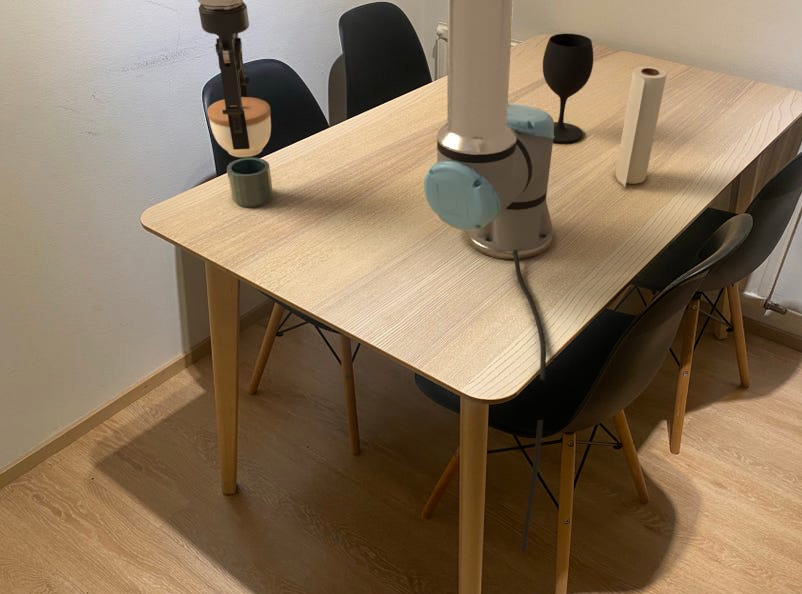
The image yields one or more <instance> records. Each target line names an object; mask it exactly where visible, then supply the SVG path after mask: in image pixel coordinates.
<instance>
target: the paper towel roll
mask: <svg viewBox="0 0 802 594" xmlns="http://www.w3.org/2000/svg"><path fill="white" fill-rule="evenodd" d="M666 79H667V72H666V71H665V70H664V69H662V68H659V67H654V66H638V67H636V68H634V69H633V70H632V76H631V81H630V86H629V87H630V88H629V93H628V99H627V105H626V111H625V116H624V123H623V129H622V133H621V140H620V145H619V151H618V156H617V163H616V169H615V178H616V179H617V181H618V182H619V183H620V184H621V185H623V186H624V188H626V186H627V184H632V185H633V184H634V185H635V184H641V183H643V182H645V180H646V178H647V174H648V168H649V163H650V159H651V154H652V148H653V144H654V140H655V133H656V130H657V129H656V128H657V124H658V119H659V115H660V109H661V105H662V100H663V95H664V90H665V84H666Z"/></svg>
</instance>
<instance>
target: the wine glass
mask: <svg viewBox="0 0 802 594" xmlns="http://www.w3.org/2000/svg"><path fill="white" fill-rule="evenodd" d="M593 67H594V46H593V42H592V39H591V38H589V37H588V36H585V35H582V34H577V33H557V34H554V35H551V36H550V37H549V39H548V42H547V43H546V47H545V49H544V53H543V58H542V73H543V79H544V81H545V83H546V84H547V86H548V87H549V89H550V90H551V91H552V92H553V93H554V94H555V95H557V97H559V102H560V103H559V114H558V121H554V139H553V143H555V144H570V143H574V142H577V141H579V140H581V139H582V138H583V137H584V132H583V130H582V129H581V128H580V127H579V126H577V125H574V124H572V123H568V122H564V121H565V120H564V118H565V109H566V105H567V100H568V99H569V98H570V97H572V96H573V95H575V94H577V93H578V92H580V91H581V90H582V89H583V88H584V86H585V85H586V84H587V83H588V82H589V79H590V78H591V74H592V71H593V69H594V68H593Z"/></svg>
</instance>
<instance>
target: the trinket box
mask: <svg viewBox="0 0 802 594" xmlns="http://www.w3.org/2000/svg"><path fill="white" fill-rule="evenodd" d="M241 99H242V108H243V111H244V113H245V120H246V126H247V133H248V139H249V146H250V149H237V150H234V149H233V143H232V138H231V132H230V126H229V120H228V115H227V114H223V111H222V110H225V109H226V107H225V100H224V99H220V100H217V101H215V102H214V103H212V104H210V105H209V106H208V108H207V110H206V113H207V118H208V119H209V124H210V125H209V126H210V129H211V131H212V135H213V137H214V139H215V141H216V142H217V144H218V145H219V146H220V147H221V148H222V149H223V150H225V151H226V152H227V153H228V154H229V155H230V156H232V157H236V158H252V157H255V156H257V155H259V154H261V153H262V152H263V149H264V148H265V146H267V144H268V142H269V140H270V137H271V134H272V119H271V117H272V116H271V105H270V104H269V103H268V102H267V101H265V100H263V99H261V98H257V97H251V96H248V97H241Z"/></svg>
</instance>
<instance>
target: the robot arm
mask: <svg viewBox="0 0 802 594" xmlns="http://www.w3.org/2000/svg"><path fill="white" fill-rule="evenodd" d="M245 1H246V0H197V2H198V3H199V6H198V13H199V19H200V26H201V28H202V30H203V31H204V32H206V33H207V34H211V35H216V36H217V37H218V38H216V39H215V40H216V41H215V42H216V43H214V45H215V52H216V55H217V57H218V59H217V60H218V67H219V70H220V77H221V83H222V85H221V86H222V93H223V100H225V107H226V109H225V110H222V111H223V114H227V115H228V120H229V126H230V132H231V138H232V143H233V149H234V150H237V149H250V146H249V139H248V133H247V126H246V120H245V113H244V111H243V108H242V99H241V97H249V95H248V86H247V85H250V84H251V82H250V77H246V75H247V72H246V71H245V65H244V59H243V50H242V49H243V45H242V44H243V43H242V38H241V37H239V34H240V33H243V32H245V31H247V30H248V28H249V27H250V20H249V12H248V7H247V6H248V5H247V4H245ZM513 9H514V0H447V122H446V123H445V125H443V126H442V127H441V128H439V130H438V132H437V135H436V162H435V163H434V164H432V165H431V166H430V167H429V169H428V171H427V172H426V174H425V177H424V180H423V192H424V196H425V200H426V202H427V205H428V206H429V207H430V209H431V210H432V212H433V213H435V214H436V215H437V216H438V218H439V219H440V220H441V221H442V222H443V223H445V224H447V225H448V226H450V227H451V228H454V229H456V230H460V231H464V232H465V238H466V240H467V243H468V244H469V245H470V246H471V247H472V248H473V249H474V250H475V251H477V252H479V253H481V254H483V255H486V256H489V257H492V258H495V259H496V258H497V259H502V260H503V259H504V260H513V262H514V269H515V274H516V277H517V281H518V283H519V285H520V286H519V287H521V290H522V292H523V294H524V296H525V297H526V300H527V301H528V303H529V304H528V305H529V307H530V309H531V312H532V315H533V318H534V321H535V325H536V328H537V332H538V339H539V346H540V357H539V359H540V360H539V363H540V364H539V368H540V369H539V379H540V380H541V381H545V380H546V375H547V373H546V372H547V371H546V370H547V369H546V368H547V346H546V338H545V333H544V328H543V324H542V320H541V318H540V315H539V311H538V309H537V306H536V304H535V302H534V299H533V297H532V295H531V292H530V291H529V289H528V287H527V285H526V284H525V281H524V278H523V276H522V271H521V265H520V260H524V259H529V258H534V257H536V256H539V255H541V254H543V253H544V252H546V251H547V250H548V249H549V248H550V246H551V244H552V241H553V234H554V230H553V223H552V219H551V215H550V211H549V207H548V202H547V196H548V195H547V194H548V186H549V178H550V170H551V162H552V161H551V160H552V154H553V145H554V142H553V139H554V122H555V121H554V118H553V117H552V116H551V115H550V114H549V113H548V112H547V111H545V110H542V109H541V108H537V107H534V106H530V105H525V104H518V103H509V90H510V89H509V88H510V87H509V86H510V69H511V51H512V50H511V49H512V33H513V32H512V31H513V30H512V28H513ZM543 424H544V419H538V420H537V424H536V434H535V444H534V454H533V460H532V461H533V462H532V469H531V478H530V484H529V490H528V499H527V506H526V513H525V519H524V526H523V533H522V541H521V548H520V552H521V554H526V552H527V545H528V537H529V532H530V531H529V530H530V523H531V518H532V512H533V511H532V510H533V504H534V497H535V490H536V484H537V477H538V469H539V461H540V454H541V445H542V436H543V426H544V425H543Z"/></svg>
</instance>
